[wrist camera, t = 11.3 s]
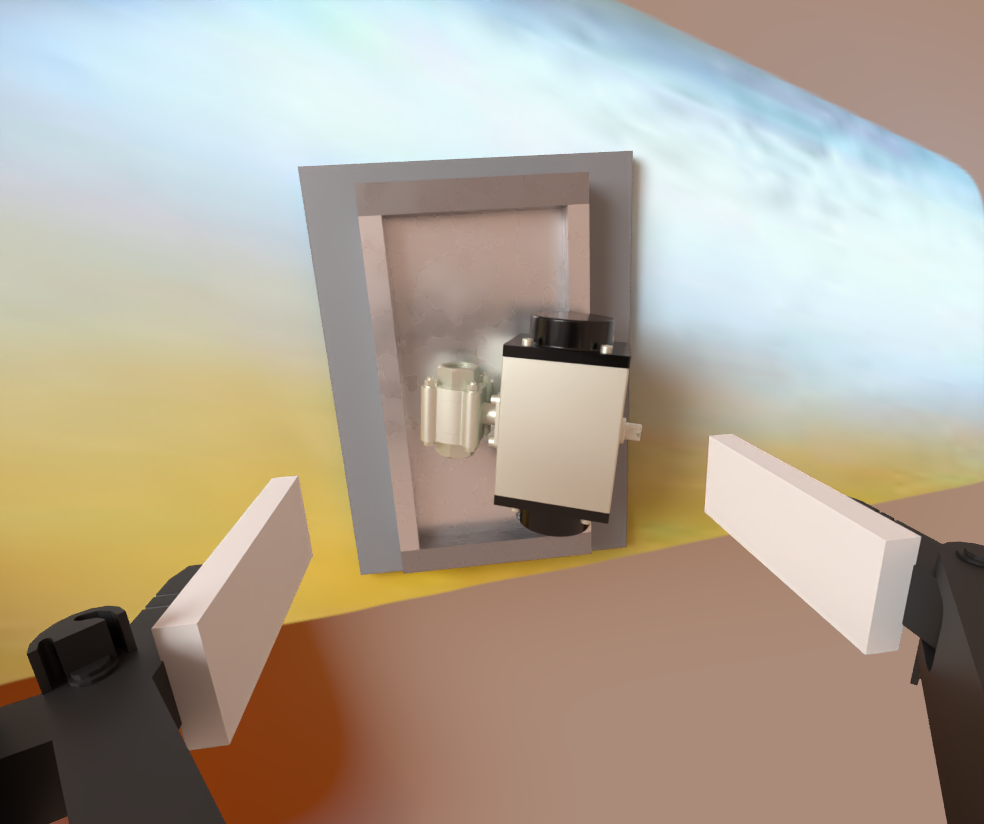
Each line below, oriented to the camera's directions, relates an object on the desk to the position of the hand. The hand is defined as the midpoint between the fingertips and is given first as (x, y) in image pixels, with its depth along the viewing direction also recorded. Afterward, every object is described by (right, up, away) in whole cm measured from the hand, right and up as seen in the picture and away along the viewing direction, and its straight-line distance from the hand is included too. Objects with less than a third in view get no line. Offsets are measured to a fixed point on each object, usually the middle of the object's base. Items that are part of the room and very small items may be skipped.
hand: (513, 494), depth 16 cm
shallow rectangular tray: (-1, +5, +17) cm, 18 cm away
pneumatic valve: (-4, +3, +14) cm, 15 cm away
